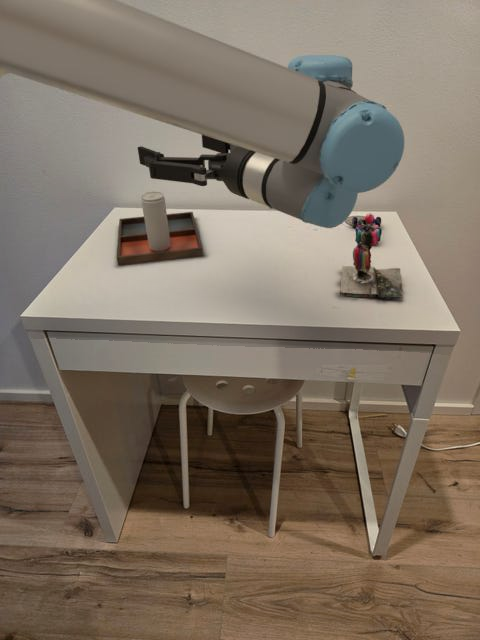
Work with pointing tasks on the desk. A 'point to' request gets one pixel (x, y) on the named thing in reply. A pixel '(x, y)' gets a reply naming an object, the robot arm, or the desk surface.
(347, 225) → the desk surface
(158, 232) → the beverage can
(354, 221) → the toy car
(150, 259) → the sorting tray
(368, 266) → the statue
